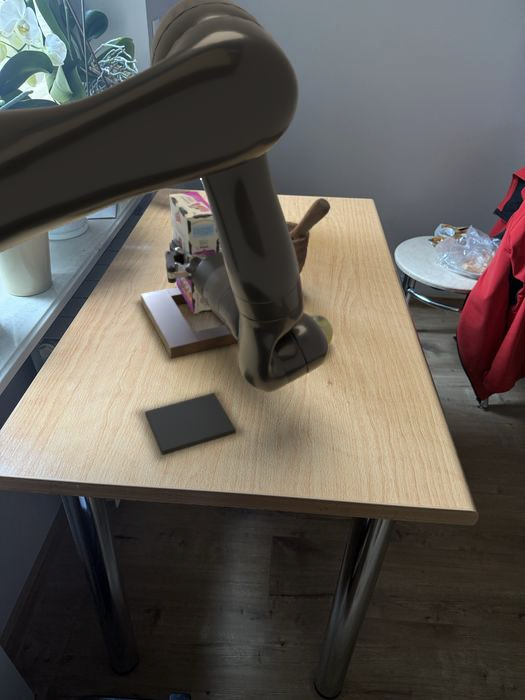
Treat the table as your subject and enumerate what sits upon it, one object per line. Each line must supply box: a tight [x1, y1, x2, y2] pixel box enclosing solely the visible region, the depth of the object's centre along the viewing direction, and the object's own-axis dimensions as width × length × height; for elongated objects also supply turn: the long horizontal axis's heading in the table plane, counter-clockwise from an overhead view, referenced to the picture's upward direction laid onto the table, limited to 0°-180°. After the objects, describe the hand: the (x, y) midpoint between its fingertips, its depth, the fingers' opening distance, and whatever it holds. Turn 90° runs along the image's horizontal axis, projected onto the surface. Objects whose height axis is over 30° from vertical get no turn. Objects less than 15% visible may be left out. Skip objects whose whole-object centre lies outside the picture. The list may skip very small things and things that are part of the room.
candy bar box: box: [168, 191, 219, 315], centre depth 85 cm, size 11×5×16 cm, turn 22°
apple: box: [308, 314, 334, 346], centre depth 85 cm, size 6×8×6 cm
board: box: [140, 286, 238, 359], centre depth 92 cm, size 16×18×2 cm
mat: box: [144, 392, 236, 455], centre depth 71 cm, size 10×8×1 cm
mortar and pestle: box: [286, 197, 331, 274], centre depth 94 cm, size 12×9×20 cm
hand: (190, 242), depth 86 cm, fingers closed on candy bar box, 5 cm apart
